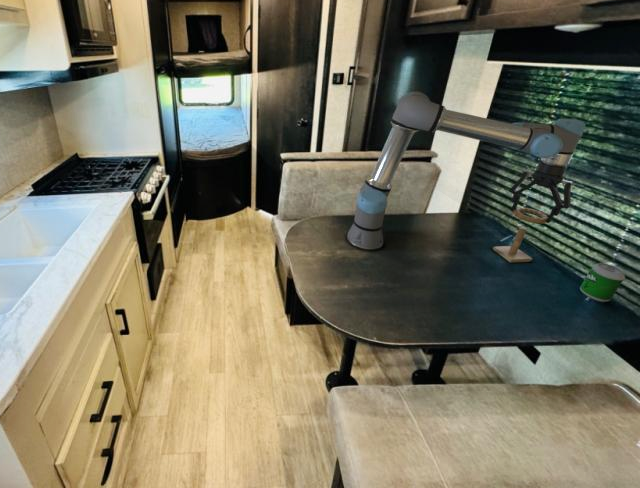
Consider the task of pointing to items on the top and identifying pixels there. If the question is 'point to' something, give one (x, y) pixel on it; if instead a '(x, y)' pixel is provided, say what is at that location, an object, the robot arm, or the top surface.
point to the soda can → (602, 282)
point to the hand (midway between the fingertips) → (530, 215)
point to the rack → (514, 249)
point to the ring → (539, 220)
